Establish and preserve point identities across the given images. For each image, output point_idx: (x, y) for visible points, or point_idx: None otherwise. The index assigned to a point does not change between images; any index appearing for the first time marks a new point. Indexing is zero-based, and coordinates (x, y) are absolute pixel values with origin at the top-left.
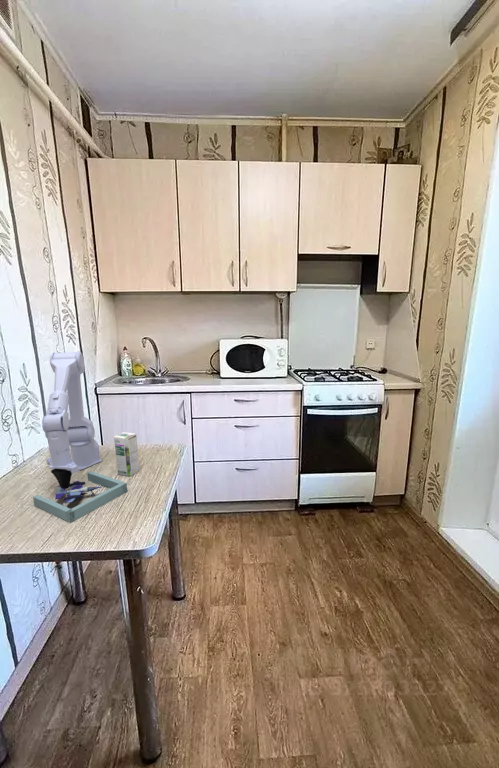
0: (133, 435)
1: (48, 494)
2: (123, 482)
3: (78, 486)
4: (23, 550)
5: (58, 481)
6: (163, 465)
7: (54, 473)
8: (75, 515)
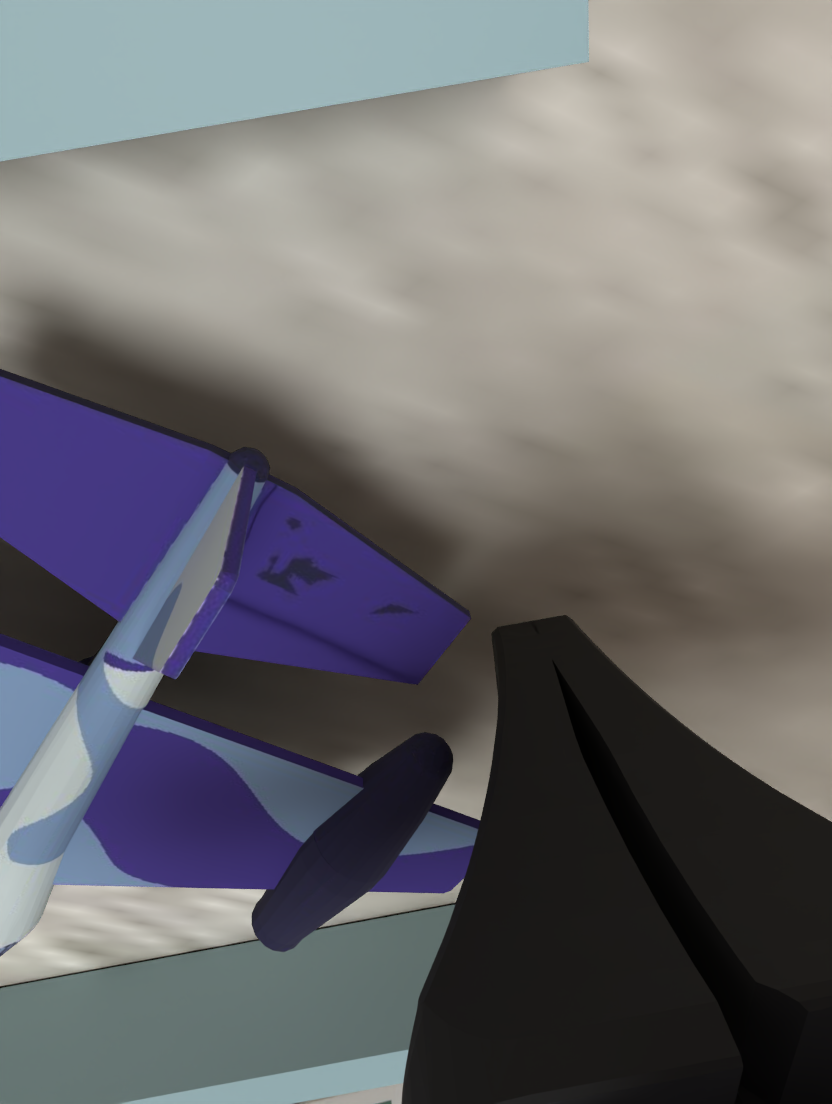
0: None
1: (718, 390)
2: None
3: (210, 846)
4: None
5: (634, 723)
6: None
7: (762, 943)
8: None
